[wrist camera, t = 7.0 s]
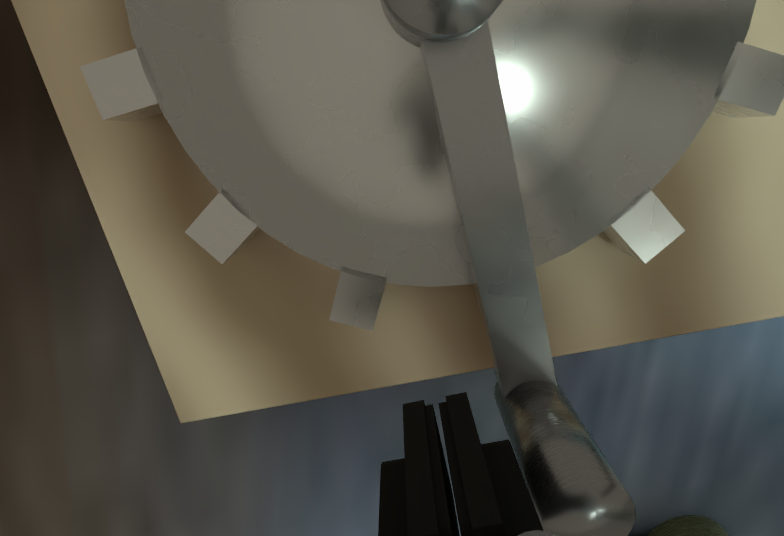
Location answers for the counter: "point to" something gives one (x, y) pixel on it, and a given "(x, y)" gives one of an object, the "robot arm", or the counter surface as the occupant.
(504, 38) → the sprocket
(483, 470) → the robot arm
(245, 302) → the sprocket plate
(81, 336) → the counter surface
